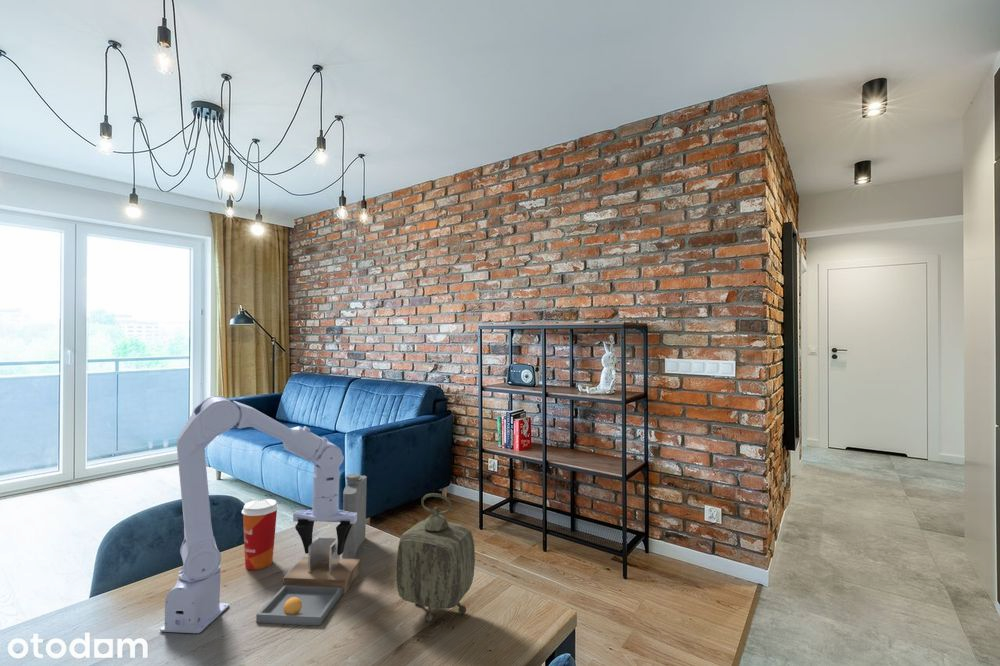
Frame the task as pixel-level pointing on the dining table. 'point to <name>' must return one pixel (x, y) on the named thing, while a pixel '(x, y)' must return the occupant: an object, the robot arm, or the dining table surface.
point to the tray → (313, 605)
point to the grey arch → (323, 553)
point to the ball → (292, 606)
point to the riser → (324, 574)
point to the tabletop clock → (435, 562)
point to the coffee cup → (259, 532)
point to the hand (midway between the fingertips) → (324, 552)
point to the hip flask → (357, 504)
